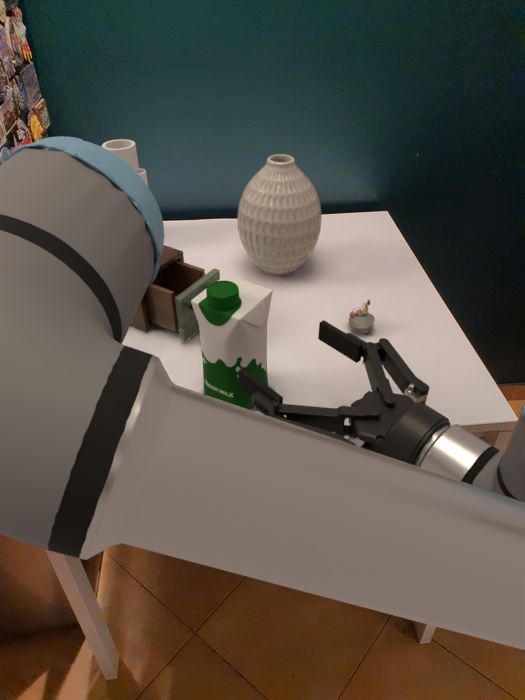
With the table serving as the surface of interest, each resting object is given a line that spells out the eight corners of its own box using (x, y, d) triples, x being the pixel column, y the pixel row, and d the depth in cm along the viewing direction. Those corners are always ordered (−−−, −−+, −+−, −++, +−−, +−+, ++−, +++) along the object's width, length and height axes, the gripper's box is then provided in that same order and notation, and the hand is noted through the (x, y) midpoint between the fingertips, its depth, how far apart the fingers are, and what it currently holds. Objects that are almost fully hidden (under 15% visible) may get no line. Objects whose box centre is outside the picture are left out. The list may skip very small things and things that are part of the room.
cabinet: (188, 299, 97) (183, 251, 91) (146, 332, 90) (137, 281, 83) (133, 279, 103) (124, 231, 96) (89, 308, 95) (76, 259, 88)
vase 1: (115, 231, 119) (98, 142, 106) (146, 225, 121) (132, 137, 108) (129, 253, 111) (111, 159, 98) (161, 246, 113) (148, 153, 100)
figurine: (370, 339, 88) (375, 310, 84) (344, 334, 89) (348, 305, 85) (375, 321, 92) (380, 293, 88) (350, 317, 93) (354, 289, 89)
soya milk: (195, 401, 77) (182, 287, 64) (230, 367, 83) (225, 256, 70) (244, 425, 73) (240, 309, 60) (277, 387, 79) (280, 274, 66)
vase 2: (258, 295, 98) (257, 181, 84) (227, 256, 110) (222, 150, 96) (332, 277, 103) (343, 166, 89) (295, 242, 115) (300, 139, 101)
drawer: (242, 317, 91) (240, 276, 86) (206, 350, 84) (202, 308, 79) (167, 290, 98) (162, 250, 93) (128, 318, 91) (120, 277, 86)
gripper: (346, 551, 47) (204, 424, 59) (485, 416, 60) (346, 334, 72) (355, 504, 43) (199, 376, 55) (504, 368, 56) (352, 289, 68)
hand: (283, 352), depth 64 cm, fingers open, 13 cm apart
